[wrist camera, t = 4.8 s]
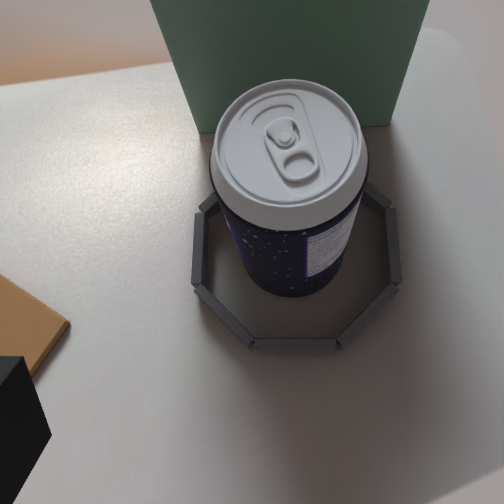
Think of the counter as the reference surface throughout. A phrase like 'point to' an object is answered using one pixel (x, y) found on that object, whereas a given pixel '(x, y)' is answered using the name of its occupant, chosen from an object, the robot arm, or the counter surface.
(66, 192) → the counter surface
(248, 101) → the beverage can
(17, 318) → the cork mat
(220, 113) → the green panel with ring
